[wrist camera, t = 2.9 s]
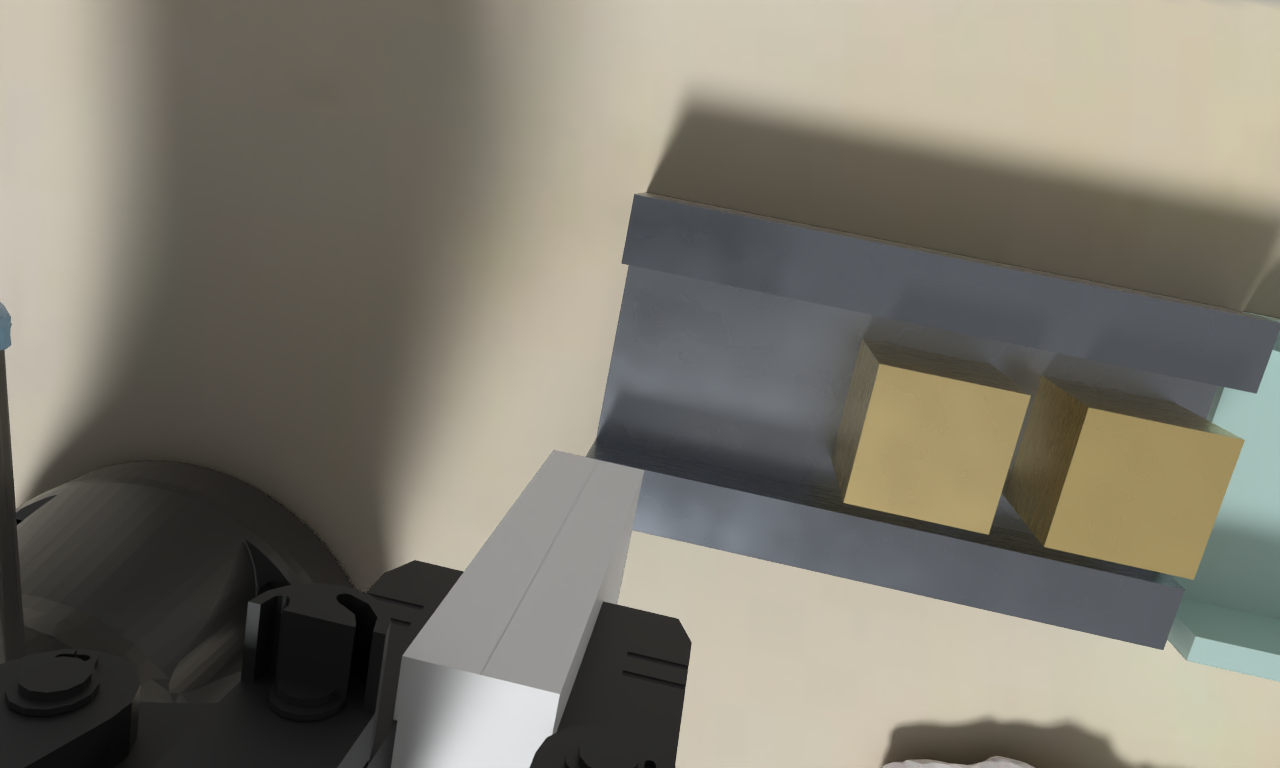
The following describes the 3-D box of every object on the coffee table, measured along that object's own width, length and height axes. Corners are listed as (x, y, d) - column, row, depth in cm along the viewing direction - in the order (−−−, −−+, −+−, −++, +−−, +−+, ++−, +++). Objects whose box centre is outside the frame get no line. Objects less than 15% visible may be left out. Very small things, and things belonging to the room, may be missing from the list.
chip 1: (831, 459, 29) (843, 502, 25) (861, 338, 28) (879, 364, 24) (956, 486, 29) (988, 534, 25) (992, 365, 28) (1030, 395, 24)
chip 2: (1004, 497, 29) (1044, 547, 25) (1041, 375, 28) (1088, 407, 24) (1133, 524, 29) (1193, 580, 25) (1175, 402, 28) (1245, 440, 24)
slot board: (590, 485, 31) (574, 517, 29) (646, 192, 29) (634, 194, 26) (1123, 604, 30) (1163, 649, 27) (1226, 308, 28) (1282, 323, 25)
